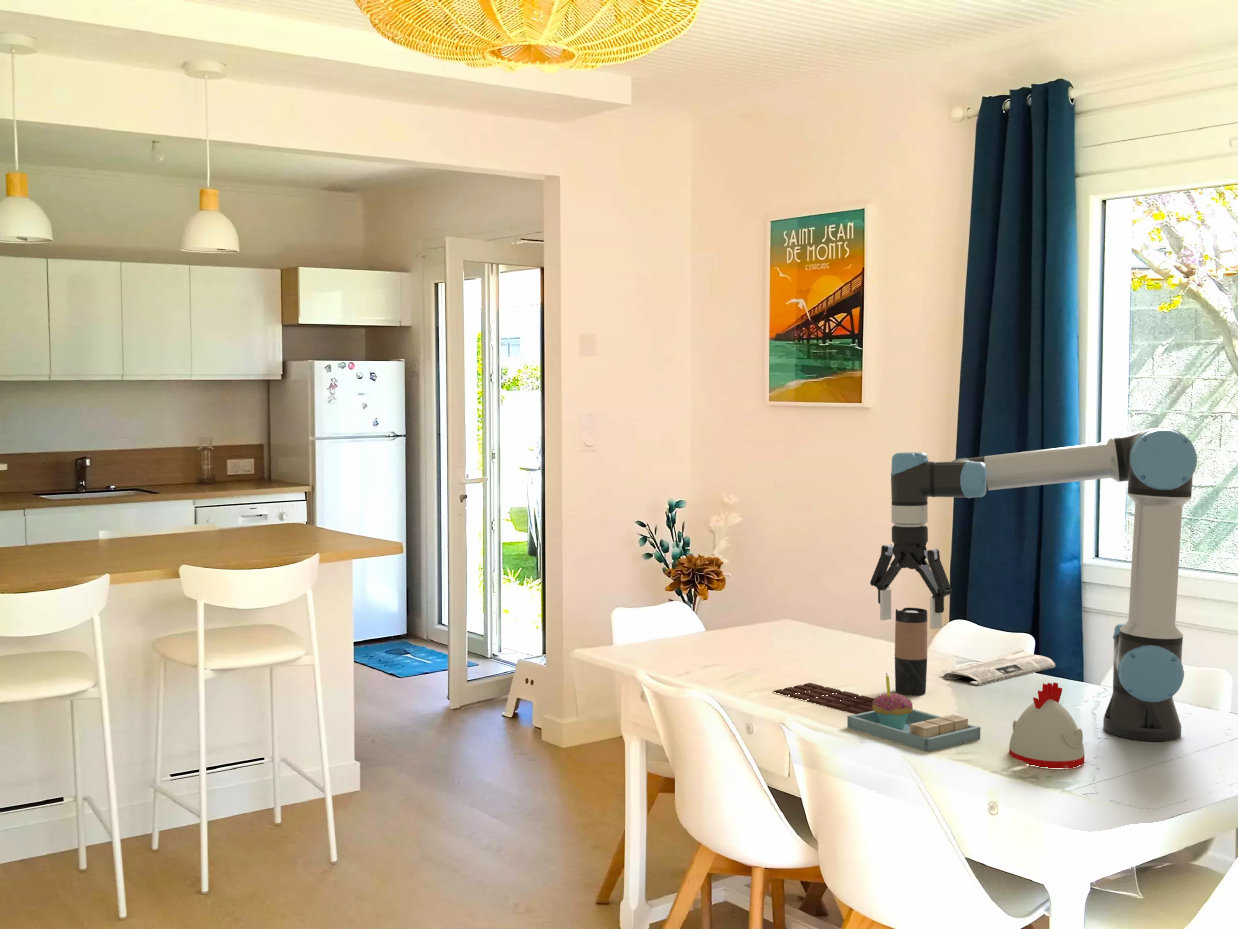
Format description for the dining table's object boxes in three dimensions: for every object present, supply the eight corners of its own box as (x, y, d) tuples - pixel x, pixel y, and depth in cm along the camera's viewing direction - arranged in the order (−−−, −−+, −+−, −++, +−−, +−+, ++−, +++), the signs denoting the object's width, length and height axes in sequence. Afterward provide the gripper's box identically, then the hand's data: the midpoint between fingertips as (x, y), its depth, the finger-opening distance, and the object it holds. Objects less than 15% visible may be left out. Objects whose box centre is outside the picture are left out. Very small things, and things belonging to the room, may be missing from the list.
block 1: (938, 745, 240) (938, 725, 240) (925, 748, 238) (925, 728, 238) (923, 740, 244) (923, 721, 243) (910, 743, 241) (910, 724, 241)
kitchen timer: (1098, 761, 231) (1100, 685, 231) (1056, 774, 223) (1057, 695, 223) (1037, 745, 243) (1038, 672, 242) (994, 756, 235) (995, 681, 234)
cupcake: (896, 734, 248) (897, 677, 247) (863, 726, 254) (863, 671, 254) (920, 727, 254) (921, 671, 253) (887, 719, 260) (888, 665, 259)
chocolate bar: (771, 694, 287) (772, 690, 287) (809, 686, 295) (809, 682, 295) (859, 717, 266) (859, 712, 266) (897, 707, 274) (897, 703, 274)
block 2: (953, 741, 243) (953, 722, 243) (940, 744, 241) (940, 725, 240) (937, 736, 246) (938, 717, 246) (924, 740, 244) (925, 720, 244)
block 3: (967, 737, 246) (967, 718, 245) (954, 740, 243) (955, 721, 243) (952, 733, 249) (952, 714, 249) (939, 736, 247) (939, 717, 246)
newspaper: (978, 688, 293) (978, 673, 293) (936, 679, 303) (936, 665, 303) (1058, 668, 315) (1058, 655, 315) (1016, 660, 325) (1016, 647, 325)
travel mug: (927, 696, 283) (928, 613, 282) (894, 695, 284) (895, 612, 283) (926, 689, 290) (926, 608, 289) (893, 687, 292) (894, 607, 291)
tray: (980, 741, 245) (980, 727, 245) (928, 754, 236) (928, 739, 236) (898, 718, 263) (898, 705, 263) (847, 730, 254) (847, 716, 254)
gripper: (969, 527, 245) (969, 629, 246) (876, 519, 265) (877, 614, 266) (945, 530, 241) (946, 634, 242) (853, 522, 261) (854, 618, 262)
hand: (910, 623), depth 254 cm, fingers open, 13 cm apart
